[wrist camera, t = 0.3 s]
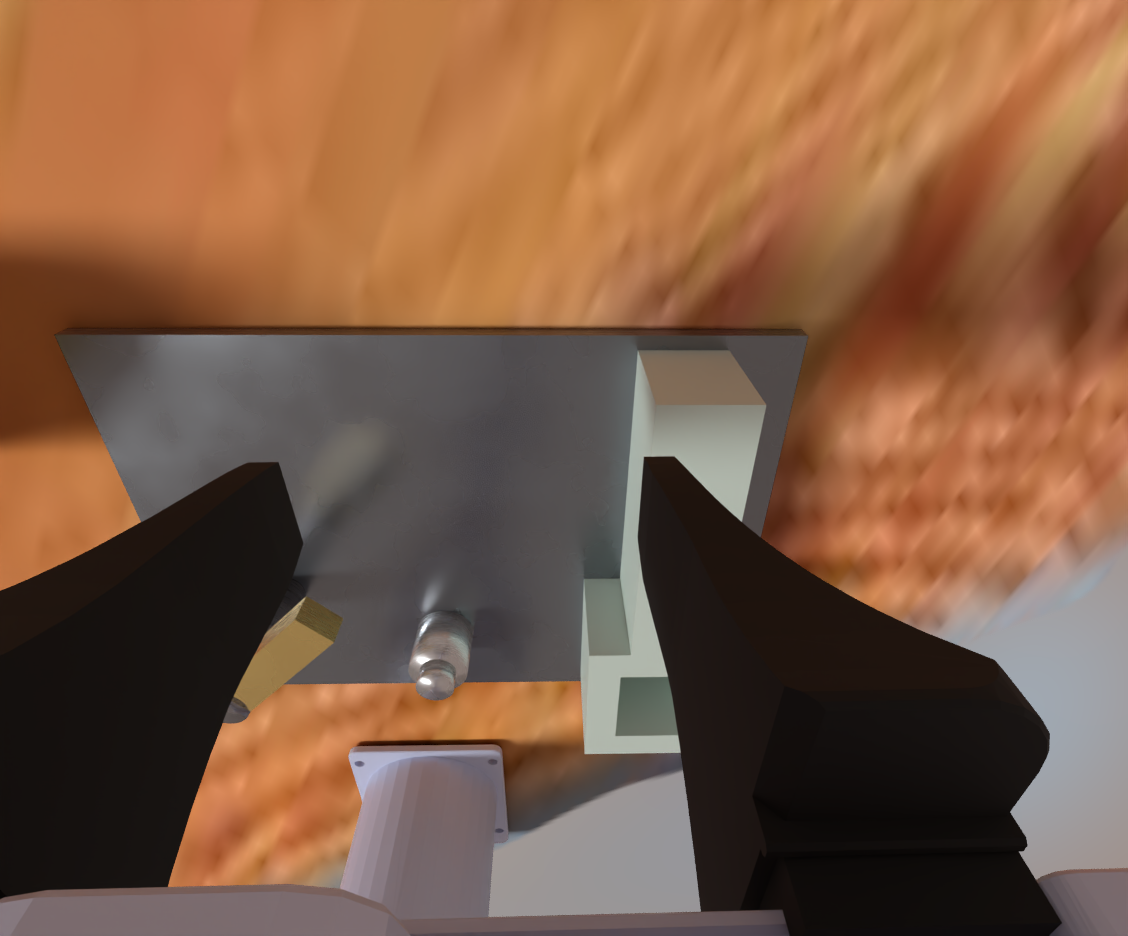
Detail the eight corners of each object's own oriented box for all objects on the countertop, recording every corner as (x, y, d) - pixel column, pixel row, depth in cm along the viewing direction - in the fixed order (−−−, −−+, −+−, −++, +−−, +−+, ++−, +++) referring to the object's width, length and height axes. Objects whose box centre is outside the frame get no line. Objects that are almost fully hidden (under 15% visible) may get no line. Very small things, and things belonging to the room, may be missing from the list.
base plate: (724, 669, 29) (727, 679, 29) (223, 674, 29) (216, 684, 28) (801, 329, 20) (808, 335, 19) (67, 328, 19) (54, 334, 19)
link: (707, 672, 28) (729, 752, 25) (580, 674, 28) (584, 754, 25) (774, 350, 20) (821, 405, 16) (592, 349, 20) (601, 405, 16)
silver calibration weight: (476, 638, 28) (467, 706, 25) (424, 639, 28) (408, 707, 24) (472, 600, 26) (462, 667, 23) (417, 601, 26) (400, 668, 23)
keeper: (383, 521, 24) (336, 644, 19) (296, 600, 26) (232, 729, 21) (350, 498, 23) (291, 618, 18) (264, 580, 25) (189, 709, 20)
